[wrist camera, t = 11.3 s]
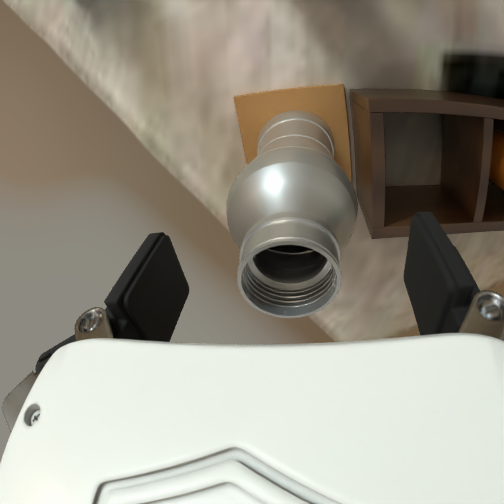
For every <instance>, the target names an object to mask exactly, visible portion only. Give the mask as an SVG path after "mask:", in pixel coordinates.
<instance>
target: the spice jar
mask: <svg viewBox="0 0 504 504" xmlns="http://www.w3.org/2000/svg"><path fill="white" fill-rule="evenodd" d="M489 179H490V180H492V181H493V182H494V183H495V184H496V185H497V186H499V187H500V188H501V189H502V190H503V191H504V133H503V132H501V131H499V130H497V129H495V128H493V143H492V156H491V166H490V175H489Z"/></svg>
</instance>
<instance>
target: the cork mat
mask: <svg viewBox="0 0 504 504" xmlns="http://www.w3.org/2000/svg"><path fill="white" fill-rule="evenodd" d="M234 102H235V107H236V112H237V117H238V121H239V126H240V131H241V136H242V141H243V146H244V151H245V156H246V161H247V164H249V163H250V162H251V161H252V160H253V159H254V158H256V157H257V140H258V137H259V133H260V131H261V130H262V128H263V126H264V125H265V124H266V123H267V122H268V121H269V120H270V119H271V118H273V117H274V116H276V115H278V114H280V113H283V112H286V111H292V110H300V111H306V112H310V113H312V114H314V115H316V116H318V117H320V118H321V119H322V120H323V121H325V122H326V124H327V125H328V126H329V127H330V129H331V131H332V133H333V136H334V140H335V154H334V160H335V161H336V163H337V164H338V165H339V166H340V167H341V168H342V169H343V171H344V172H345V173H346V175H347V176H348V178H349V180H350V182H351V184H352V175H351V157H350V143H349V131H348V120H347V110H346V101H345V93H344V85H343V84H338V85H322V86H310V87H299V88H290V89H281V90H273V91H266V92H259V93H253V94H246V95H241V96H235V97H234Z"/></svg>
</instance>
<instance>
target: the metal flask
mask: <svg viewBox="0 0 504 504" xmlns="http://www.w3.org/2000/svg"><path fill="white" fill-rule="evenodd" d="M334 154H335V140H334V136H333V133H332V131H331V129H330V127H329V126H328V125H327V124H326V122H325V121H323V120H322V119H321V118H320V117H318V116H316V115H314V114H312V113H310V112H306V111H300V110H292V111H286V112H283V113H280V114H278V115H276V116H274V117H273V118H271V119H270V120H269V121H268V122H267V123H266V124H265V125H264V126H263V128H262V130H261V131H260V133H259V137H258V140H257V157H256V158H254V159H253V160H252V161H251V162H250V163H249V164H247V165H246V167H245V168H244V169H243V170H242V171H241V173H240V174H239V175H238V177H237V178H236V179H235V181H234V183H233V185H232V187H231V189H230V191H229V195H228V199H227V220H228V225H229V230H230V233H231V235H232V238H233V240H234V242H235V243H236V244H237V246H238V247H239V248H240V264H239V267H238V274H237V279H238V281H237V282H238V287H239V290H240V292H241V294H242V296H243V297H244V299H246V301H247V302H248V303H249V304H250V305H251V306H252V307H254V308H256V309H257V310H259V311H261V312H263V313H265V314H268V315H271V316H275V317H282V318H298V317H304V316H308V315H311V314H314V313H316V312H318V311H320V310H322V309H323V308H325V307H326V306H328V305H329V304H330V303H331V302H332V301H333V300H334V298H335V297H336V295H337V293H338V291H339V288H340V285H341V269H340V258H341V253H340V252H341V250H342V249H343V248H344V247H345V246H346V244H347V243H348V241H349V239H350V237H351V235H352V233H353V229H354V226H355V222H356V218H357V209H358V203H357V198H356V193H355V190H354V188H353V186H352V184H351V182H350V180H349V178H348V176H347V175H346V173H345V172H344V171H343V169H342V168H341V167H340V166H339V165H338V164H337V163H336V161H335V160H334Z"/></svg>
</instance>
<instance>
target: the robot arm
mask: <svg viewBox="0 0 504 504" xmlns="http://www.w3.org/2000/svg"><path fill="white" fill-rule="evenodd" d="M404 282H405V285H406V288H407V291H408V295H409V298H410V301H411V304H412V307H413V311H414V314H415V317H416V321H417V324H418V328H419V331H420V336H409V337H399V338H388V339H376V340H363V341H349V342H332V343H308V344H270V345H269V344H268V345H267V344H260V345H259V344H256V345H255V344H201V343H177V342H169V341H170V339H171V336H172V334H173V331H174V329H175V326H176V324H177V321H178V319H179V316H180V314H181V311H182V309H183V306H184V304H185V301H186V299H187V297H188V294H189V286H188V283H187V281H186V278H185V276H184V273H183V271H182V268H181V266H180V263H179V261H178V258H177V255H176V253H175V250H174V248H173V245H172V242H171V240H170V238H169V236H167V235H165V234H164V233H163V232H162V233H152V234H149V235H148V237H147V238H146V239H145V241H144V242H143V244H142V245H141V247H140V248H139V249H138V251H137V252H136V254H135V255H134V257H133V258H132V260H131V261H130V263H129V264H128V266H127V267H126V268H125V270H124V272H123V273H122V275H121V276H120V278H119V279H118V281H117V282H116V284H115V285H114V287H113V288H112V290H111V292H110V293H109V295H108V296H107V298H106V299H105V301H104V302H105V304H106V306H107V308H106V309H105V310H104V309H103V308H99V307H95V308H91V309H89V310H87V311H86V312H84V313H83V314H82V315H81V316H80V317H79V318H78V319H77V321H76V324H75V334H74V335H73V336H71V337H69V338H68V339H66V340H65V341H63V342H61V343H59V344H58V345H56V346H54V347H53V348H51V349H49V350H48V351H46V352H44V353H43V354H42V355H41V356H40V357H39V360H38V361H37V364H36V373H34V372H33V371H32V372H31V373H30V374H29V375H28V376H27V377H26V378H25V379H24V380H23V381H22V382H20V383H19V384H18V385H17V386H16V387H15V388H14V390H12V391H11V392H10V393H9V394H8V395H7V397H6V398H5V399H4V402H3V405H2V411H3V414H4V417H5V419H6V422H7V425H8V427H9V429H10V432H11V435H10V438H9V440H8V443H7V446H6V449H5V452H4V454H3V457H2V460H1V463H0V504H504V297H503V296H502V295H500V294H498V293H497V292H494V291H491V290H483V291H480V290H479V288H478V286H477V284H476V282H475V280H474V279H473V277H472V275H471V273H470V271H469V269H468V268H467V266H466V264H465V262H464V261H463V259H462V257H461V255H460V254H459V252H458V250H457V249H456V247H455V246H453V245H452V243H451V241H450V240H449V238H448V237H447V235H446V233H445V232H444V230H443V229H442V227H441V226H440V224H439V222H438V221H437V219H436V218H435V216H434V215H433V213H432V212H417V213H416V215H415V216H413V217H412V218H411V225H410V234H409V242H408V250H407V257H406V264H405V270H404Z"/></svg>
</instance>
